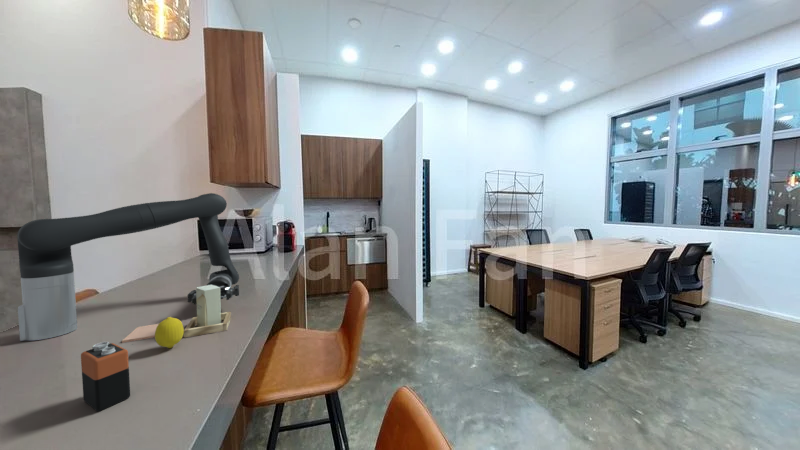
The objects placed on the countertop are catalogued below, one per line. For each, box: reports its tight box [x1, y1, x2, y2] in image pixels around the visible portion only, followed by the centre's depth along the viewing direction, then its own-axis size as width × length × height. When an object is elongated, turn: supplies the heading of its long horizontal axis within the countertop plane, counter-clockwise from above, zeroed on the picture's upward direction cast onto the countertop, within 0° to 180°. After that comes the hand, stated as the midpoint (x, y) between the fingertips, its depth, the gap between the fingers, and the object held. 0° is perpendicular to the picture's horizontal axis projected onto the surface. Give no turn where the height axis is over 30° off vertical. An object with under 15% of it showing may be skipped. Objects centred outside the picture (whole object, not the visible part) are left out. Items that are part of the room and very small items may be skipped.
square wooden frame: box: [183, 311, 232, 339], centre depth 80 cm, size 10×11×2 cm
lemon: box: [154, 316, 185, 349], centre depth 68 cm, size 6×6×8 cm
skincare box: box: [195, 284, 222, 327], centre depth 80 cm, size 6×4×12 cm
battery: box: [80, 341, 131, 412], centre depth 49 cm, size 4×7×10 cm, turn 63°
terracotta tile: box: [121, 323, 159, 344], centre depth 78 cm, size 10×10×1 cm
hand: (211, 298), depth 85 cm, fingers open, 8 cm apart
